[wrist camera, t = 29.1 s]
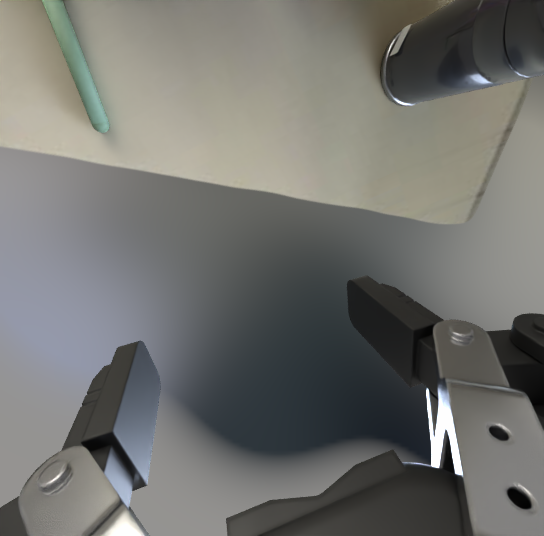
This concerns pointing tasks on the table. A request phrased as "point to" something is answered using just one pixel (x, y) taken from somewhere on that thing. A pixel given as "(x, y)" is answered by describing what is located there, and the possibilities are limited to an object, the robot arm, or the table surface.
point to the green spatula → (76, 63)
